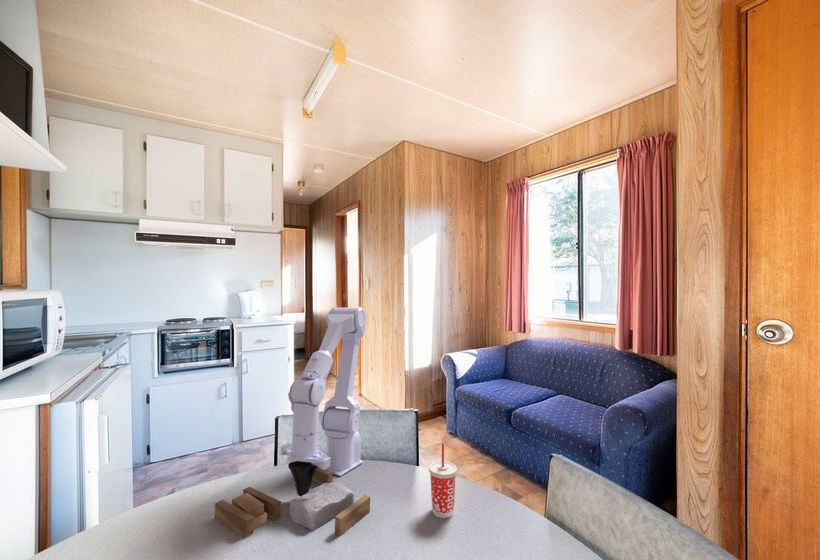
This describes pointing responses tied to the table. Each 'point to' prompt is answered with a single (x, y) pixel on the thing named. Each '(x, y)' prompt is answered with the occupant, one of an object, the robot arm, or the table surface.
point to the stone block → (320, 505)
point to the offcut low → (260, 520)
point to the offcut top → (249, 504)
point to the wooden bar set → (272, 507)
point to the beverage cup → (442, 487)
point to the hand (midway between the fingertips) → (303, 494)
